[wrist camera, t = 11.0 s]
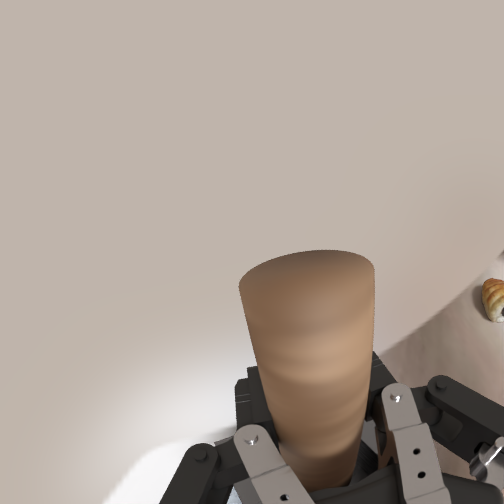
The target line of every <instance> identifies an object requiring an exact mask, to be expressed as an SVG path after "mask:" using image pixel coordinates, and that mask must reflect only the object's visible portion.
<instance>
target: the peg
mask: <svg viewBox="0 0 504 504" xmlns="http://www.w3.org/2000/svg"><path fill="white" fill-rule="evenodd" d="M374 283H375V281H374V267H373V265H372V263H371V262H370V261H369V260H368V259H366V258H365V257H363V256H361V255H358V254H355V253H351V252H346V251H338V250H314V251H305V252H298V253H293V254H288V255H284V256H280V257H277V258H274V259H271V260H269V261H266V262H264V263H262V264H260V265H258V266H256V267H254V268H253V269H251V270H250V271H248V272H247V273H246V274H245V275H244V276H243V277H242V279H241V280H240V282H239V291H240V296H241V300H242V304H243V308H244V313H245V317H246V321H247V325H248V329H249V333H250V338H251V342H252V346H253V350H254V354H255V358H256V362H257V366H258V370H259V374H260V378H261V382H262V386H263V390H264V393H265V397H266V401H267V405H268V408H269V411H270V413H271V416H272V420H273V424H274V428H275V431H276V435H277V439H278V443H279V450H280V453H281V456H282V458H283V460H284V461H285V463H286V464H288V465H289V466H290V467H291V469H292V470H293V472H294V473H295V475H296V476H297V478H298V479H299V481H300V482H301V484H302V485H303V487H304V488H305V490H306V491H307V493H311V492H315V491H318V490H322V489H326V488H337V487H346V486H349V484H350V482H351V480H352V476H353V472H354V468H355V464H356V459H357V455H358V450H359V446H360V441H361V436H362V430H363V425H364V419H365V413H366V406H367V399H368V391H369V383H370V374H371V363H372V351H373V334H374V300H375V294H374V293H375V288H374V287H375V284H374Z"/></svg>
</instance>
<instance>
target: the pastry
mask: <svg viewBox="0 0 504 504" xmlns="http://www.w3.org/2000/svg"><path fill="white" fill-rule="evenodd" d="M482 288H483V290H482V296H483V297H482V303H483V305H484V308H485V311H486V314H487V316H488V318H489V319H490V320H491V321H492V322H497V323H499V322H504V281H502V280H497V279H494V278H491V279H488V280H487V281H485V282H484V284H483V286H482Z"/></svg>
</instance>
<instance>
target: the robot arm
mask: <svg viewBox="0 0 504 504" xmlns="http://www.w3.org/2000/svg"><path fill="white" fill-rule="evenodd" d="M247 373H248V378H245V379H239V380H238V382H237V384H236V386H235V402H236V419H237V431H236V433H235V435H234V436H233V437H232V438H231V439H230V440H229V441H227V442H225V443H222V444H220V445H217V446H214V447H213V446H212V445H210V444H206V443H200V444H195V445H193V446H191V447H190V448H189V449H188V450H187V451H186V453H185V455H184V457H183V459H182V461H181V463H180V465H179V467H178V468H177V470H176V472H175V474H174V476H173V478H172V480H171V482H170V484H169V486H168V488H167V490H166V491H165V493H164V495H163V497H162V499H161V501H160V503H159V504H227V501H228V499H229V496H230V493H231V491H232V488H233V485H234V484H235V483H238V482H240V481H243V480H245V479H247V478H251V481H252V483H253V485H254V487H255V489H256V491H257V493H258V495H259V497H260V499H261V501H262V503H263V504H504V498H503V494H502V492H501V491H502V489H503V488H504V407H503V406H501V405H499V404H497V403H495V402H494V401H492V400H490V399H488V398H486V397H484V396H482V395H481V394H479V393H477V392H475V391H473V390H471V389H470V388H468V387H466V386H464V385H462V384H460V383H459V382H457V381H455V380H453V379H451V378H450V377H448V376H444V375H439V376H435V377H433V378H432V379H431V380H430V381H429V382H428V385H427V386H423V387H417V388H409V387H408V386H407V385H405V384H402V383H397V381H396V380H395V379H394V377H393V376H392V375H391V373H390V372H389V371H388V369H387V368H386V367H385V365H384V364H383V363H382V361H381V360H380V359H379V357H378V356H377V355H376V353H375V352H374V351H372V363H371V374H370V383H369V391H368V399H367V406H366V413H365V421H366V422H368V421H371V420H373V421H374V422H375V436H376V443H377V450H378V458H379V464H378V470H377V471H375V472H374V473H372V474H371V475H369V476H367V477H366V478H364V479H363V480H361V481H360V482H358V483H356V484H355V485H352V486H346V487H337V488H326V489H322V490H318V491H315V492H311V493H307V491H306V490H305V488H304V487H303V485H302V484H301V482H300V481H299V479H298V478H297V476H296V475H295V473H294V472H293V470H292V469H291V467H290V466H289V465H288V464H286V463H285V461H284V460H283V458H282V456H281V455H280V453H279V451H278V450H277V448H278V447H279V443H278V439H277V435H276V431H275V428H274V424H273V420H272V416H271V413H270V411H269V408H268V405H267V401H266V397H265V393H264V390H263V386H262V382H261V378H260V374H259V370H258V366H253V367H248V368H247ZM433 439H434V440H435V441H437V442H438V443H440V444H441V445H443V446H444V447H446V448H447V449H449V450H450V451H452V452H453V453H455V454H456V455H458V456H459V457H461V458H462V459H464V460H465V461H467V462H468V463H470V465H469V468H470V475H471V476H475V477H476V480H477V481H475V480H470V479H466V478H462V477H458V476H454V475H450V474H446V473H443V472H441V470H440V465H439V461H438V457H437V454H436V450H435V446H434V443H433Z"/></svg>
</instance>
